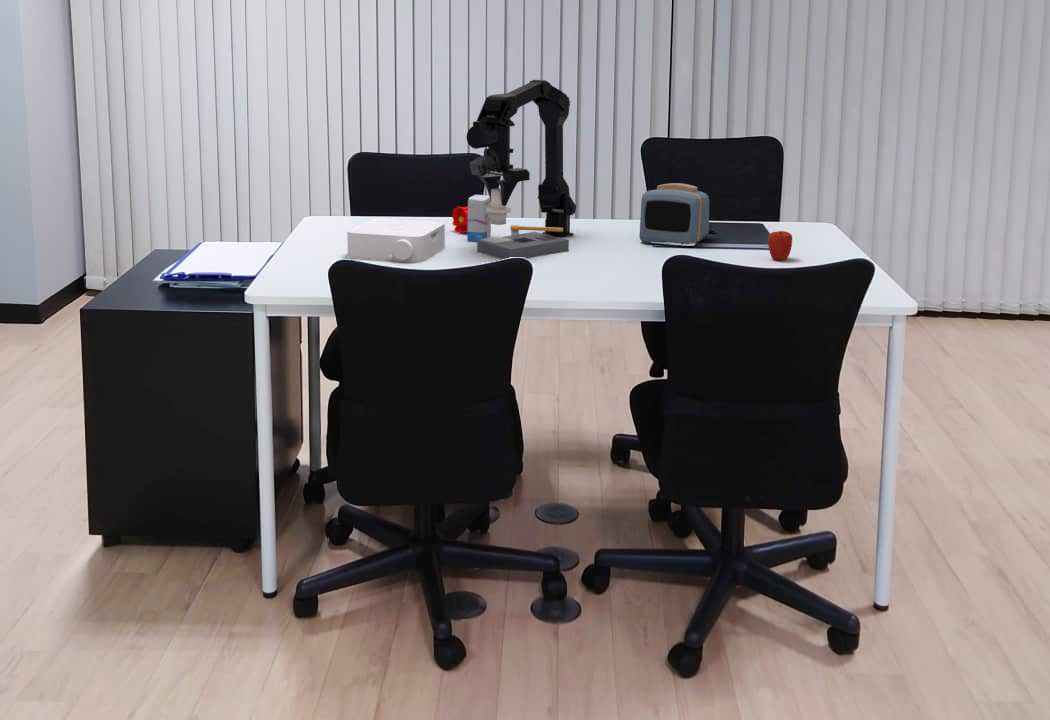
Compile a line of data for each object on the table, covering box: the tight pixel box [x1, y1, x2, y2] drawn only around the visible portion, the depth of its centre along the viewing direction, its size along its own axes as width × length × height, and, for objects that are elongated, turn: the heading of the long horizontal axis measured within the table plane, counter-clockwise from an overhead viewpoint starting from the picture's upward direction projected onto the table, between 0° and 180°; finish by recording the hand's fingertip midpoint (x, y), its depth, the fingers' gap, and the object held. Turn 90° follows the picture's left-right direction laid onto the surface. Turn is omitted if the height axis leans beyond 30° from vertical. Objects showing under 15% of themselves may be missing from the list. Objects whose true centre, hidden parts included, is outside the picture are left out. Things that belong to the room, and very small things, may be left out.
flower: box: [451, 205, 468, 234], centre depth 387 cm, size 8×8×8 cm
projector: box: [346, 218, 446, 263], centre depth 359 cm, size 21×22×7 cm
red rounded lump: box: [767, 230, 793, 262], centre depth 354 cm, size 6×6×8 cm
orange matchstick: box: [510, 224, 563, 232], centre depth 367 cm, size 14×2×1 cm, turn 80°
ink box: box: [467, 194, 492, 243], centre depth 376 cm, size 9×5×12 cm, turn 168°
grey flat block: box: [476, 229, 570, 260], centre depth 362 cm, size 20×15×4 cm
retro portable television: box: [639, 182, 710, 245], centre depth 375 cm, size 16×16×16 cm
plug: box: [486, 187, 512, 226], centre depth 359 cm, size 6×6×9 cm
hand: (498, 204), depth 359 cm, fingers closed on plug, 4 cm apart
